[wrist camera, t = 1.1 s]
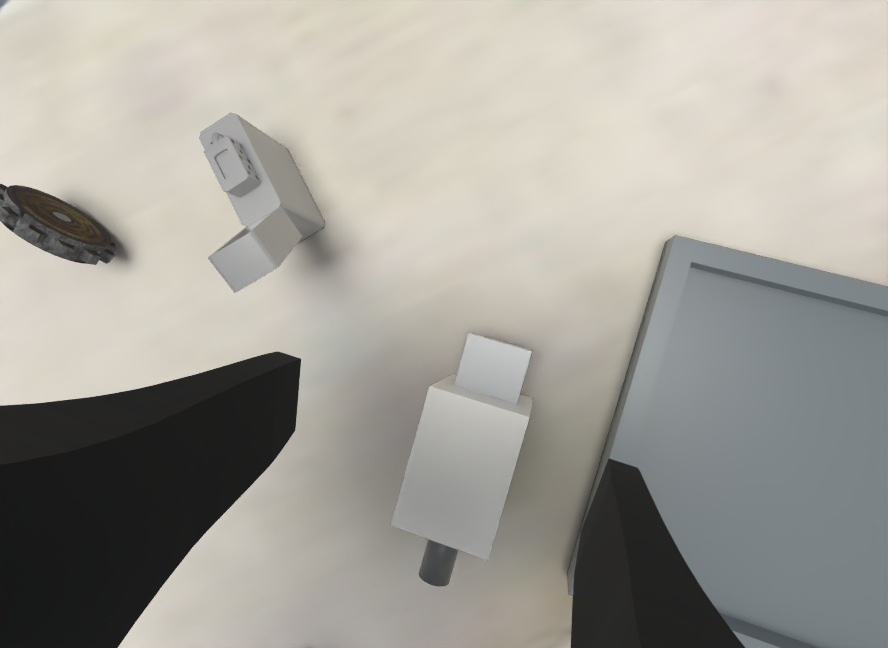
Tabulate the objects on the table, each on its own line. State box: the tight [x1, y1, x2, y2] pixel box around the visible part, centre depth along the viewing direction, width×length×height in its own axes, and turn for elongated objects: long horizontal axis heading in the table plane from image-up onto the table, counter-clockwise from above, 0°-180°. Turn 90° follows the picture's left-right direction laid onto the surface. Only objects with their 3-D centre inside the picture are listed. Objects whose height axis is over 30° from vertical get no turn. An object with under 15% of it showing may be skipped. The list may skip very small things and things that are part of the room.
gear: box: [0, 184, 116, 265], centre depth 25 cm, size 5×1×5 cm, turn 51°
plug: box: [390, 333, 534, 586], centre depth 22 cm, size 9×4×5 cm, turn 164°
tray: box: [567, 235, 888, 648], centre depth 20 cm, size 14×18×2 cm
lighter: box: [199, 113, 325, 293], centre depth 21 cm, size 7×2×8 cm, turn 29°
